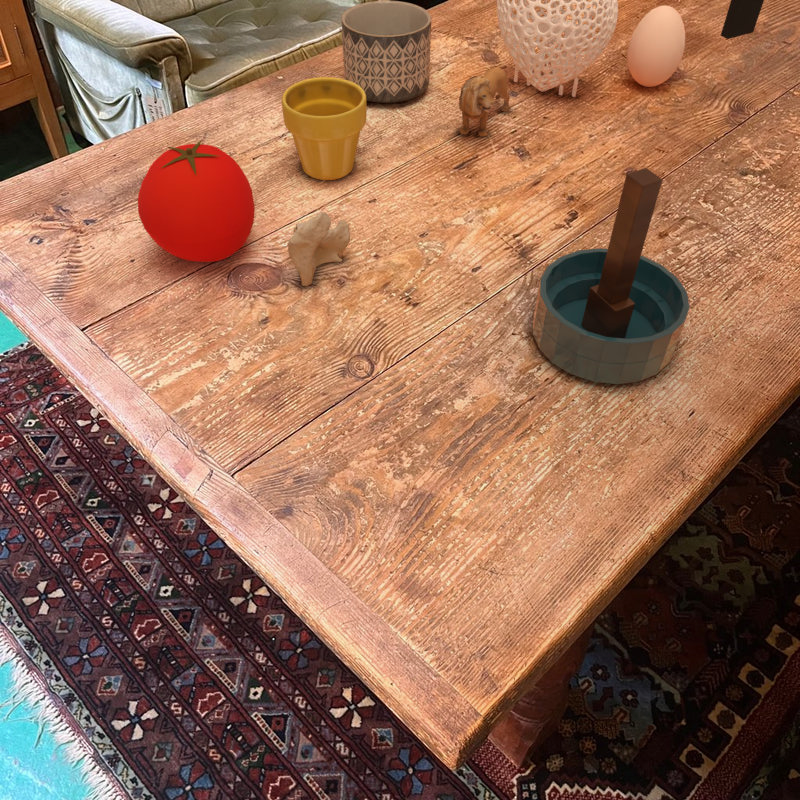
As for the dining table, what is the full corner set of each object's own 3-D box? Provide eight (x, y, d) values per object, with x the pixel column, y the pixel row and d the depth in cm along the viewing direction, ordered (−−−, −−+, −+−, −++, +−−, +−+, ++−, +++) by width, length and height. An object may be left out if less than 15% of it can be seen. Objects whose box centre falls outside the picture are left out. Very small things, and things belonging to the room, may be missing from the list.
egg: (630, 98, 115) (649, 18, 106) (613, 74, 120) (630, -4, 112) (681, 95, 115) (704, 16, 107) (662, 72, 121) (682, -6, 112)
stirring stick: (624, 341, 78) (671, 184, 65) (605, 349, 77) (649, 191, 64) (599, 318, 80) (640, 162, 67) (580, 325, 80) (618, 169, 66)
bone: (318, 219, 90) (340, 173, 81) (352, 262, 90) (379, 220, 81) (261, 254, 87) (278, 210, 78) (297, 299, 87) (318, 260, 78)
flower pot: (369, 188, 98) (367, 115, 91) (287, 190, 97) (279, 116, 90) (367, 146, 105) (365, 75, 98) (290, 148, 104) (283, 76, 97)
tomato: (248, 213, 94) (232, 115, 85) (271, 269, 86) (257, 168, 77) (145, 233, 91) (117, 134, 82) (160, 293, 83) (131, 191, 74)
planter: (446, 91, 116) (449, 19, 108) (383, 118, 110) (382, 44, 102) (390, 63, 122) (389, -7, 114) (327, 88, 116) (323, 16, 109)
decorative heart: (613, 93, 116) (640, -31, 103) (580, 121, 110) (604, -7, 97) (510, 61, 123) (524, -58, 110) (474, 86, 117) (484, -38, 104)
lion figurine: (488, 152, 104) (494, 87, 97) (450, 145, 105) (454, 80, 98) (513, 103, 113) (520, 41, 107) (478, 97, 115) (483, 35, 108)
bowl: (702, 358, 77) (721, 312, 73) (588, 407, 73) (601, 361, 68) (612, 279, 86) (623, 234, 81) (505, 318, 81) (511, 273, 77)
